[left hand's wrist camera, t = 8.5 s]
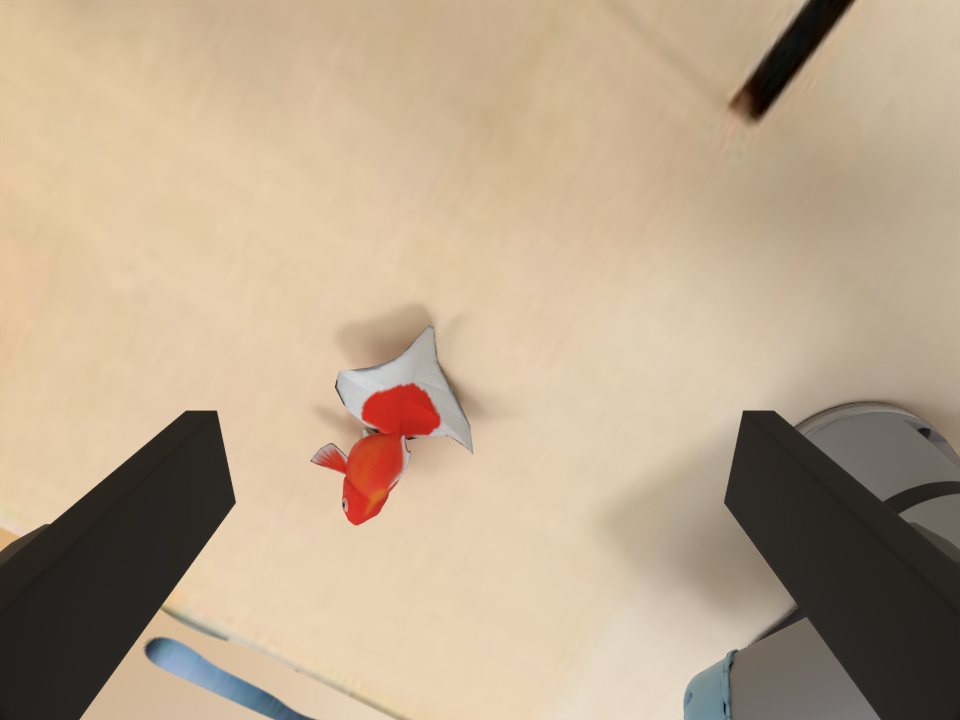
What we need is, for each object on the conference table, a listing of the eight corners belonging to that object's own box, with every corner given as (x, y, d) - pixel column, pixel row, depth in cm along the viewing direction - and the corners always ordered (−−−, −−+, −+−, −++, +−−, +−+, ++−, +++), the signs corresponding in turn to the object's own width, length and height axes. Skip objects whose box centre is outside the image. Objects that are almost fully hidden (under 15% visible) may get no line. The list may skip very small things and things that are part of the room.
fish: (249, 454, 38) (274, 517, 30) (371, 289, 41) (426, 305, 32) (359, 508, 44) (405, 573, 36) (461, 361, 46) (526, 390, 38)
